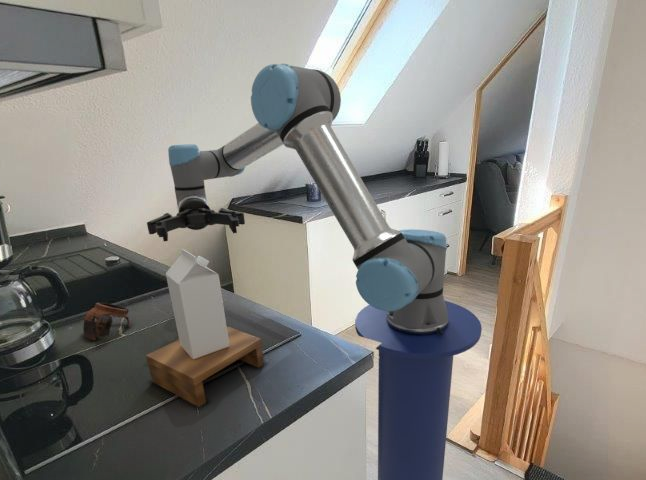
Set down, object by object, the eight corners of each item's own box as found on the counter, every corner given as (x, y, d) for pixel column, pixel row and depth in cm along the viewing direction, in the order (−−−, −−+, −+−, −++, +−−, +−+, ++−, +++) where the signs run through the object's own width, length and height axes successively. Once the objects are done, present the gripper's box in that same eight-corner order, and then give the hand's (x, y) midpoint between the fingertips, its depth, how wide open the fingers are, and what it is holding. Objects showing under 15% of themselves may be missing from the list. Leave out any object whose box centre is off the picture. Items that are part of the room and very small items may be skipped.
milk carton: (193, 360, 74) (174, 261, 66) (180, 345, 79) (160, 252, 71) (230, 347, 78) (215, 252, 71) (215, 333, 83) (200, 244, 76)
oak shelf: (264, 364, 83) (261, 338, 81) (198, 407, 71) (192, 378, 68) (218, 345, 90) (214, 321, 88) (152, 382, 78) (145, 355, 76)
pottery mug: (81, 331, 99) (91, 299, 99) (124, 339, 103) (133, 308, 104) (76, 340, 88) (87, 304, 89) (124, 349, 93) (134, 314, 93)
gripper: (247, 221, 107) (263, 240, 89) (143, 232, 98) (137, 256, 80) (243, 192, 104) (259, 206, 86) (136, 201, 95) (128, 219, 77)
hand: (200, 230), depth 83 cm, fingers open, 13 cm apart
